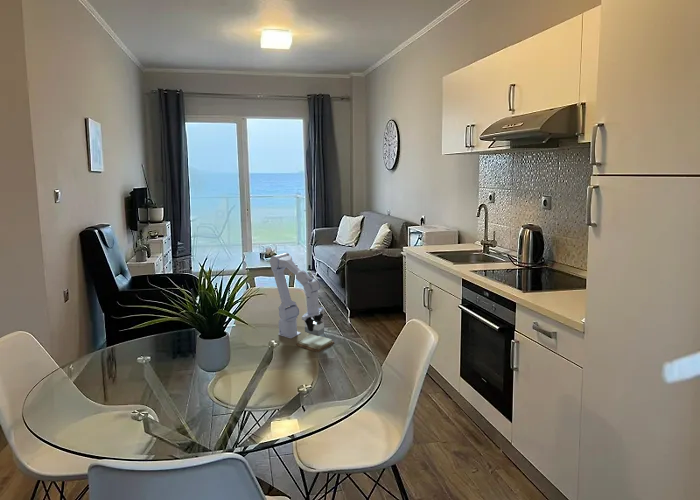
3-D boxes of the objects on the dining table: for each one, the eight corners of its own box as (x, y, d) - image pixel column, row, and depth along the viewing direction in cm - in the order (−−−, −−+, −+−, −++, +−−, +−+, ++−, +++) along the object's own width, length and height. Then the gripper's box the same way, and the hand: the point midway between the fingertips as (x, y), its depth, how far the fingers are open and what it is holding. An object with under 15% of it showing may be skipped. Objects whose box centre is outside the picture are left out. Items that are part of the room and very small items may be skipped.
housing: (318, 336, 256) (317, 325, 254) (305, 331, 261) (304, 321, 260) (324, 333, 259) (323, 322, 258) (310, 328, 265) (310, 318, 263)
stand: (296, 345, 261) (296, 341, 261) (313, 336, 271) (312, 332, 271) (318, 352, 253) (317, 348, 253) (334, 342, 263) (334, 339, 263)
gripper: (308, 309, 248) (310, 335, 252) (328, 301, 259) (329, 326, 263) (298, 306, 253) (299, 332, 256) (317, 298, 264) (318, 322, 267)
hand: (313, 329), depth 260 cm, fingers closed on housing, 4 cm apart
